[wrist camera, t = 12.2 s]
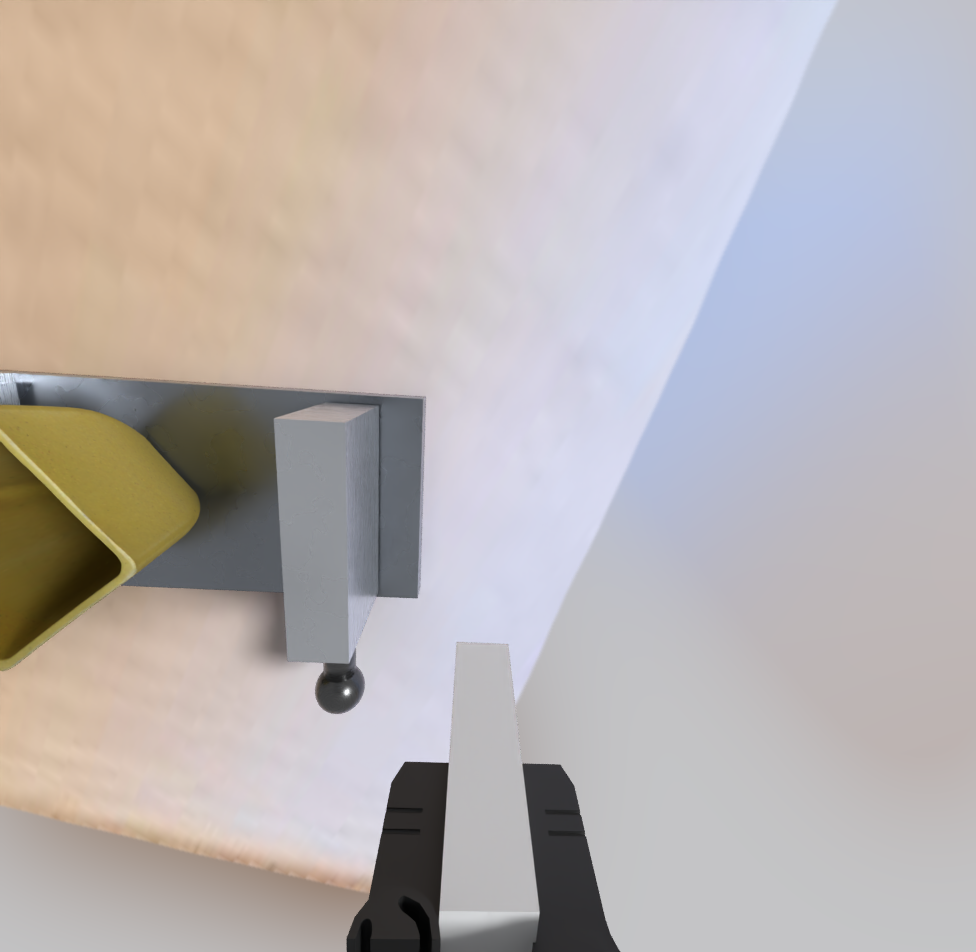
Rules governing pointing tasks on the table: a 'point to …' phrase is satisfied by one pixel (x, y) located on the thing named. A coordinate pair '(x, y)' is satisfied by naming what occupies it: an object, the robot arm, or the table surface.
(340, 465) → the block
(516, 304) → the table surface
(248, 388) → the vise base
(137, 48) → the table surface
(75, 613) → the flower pot
